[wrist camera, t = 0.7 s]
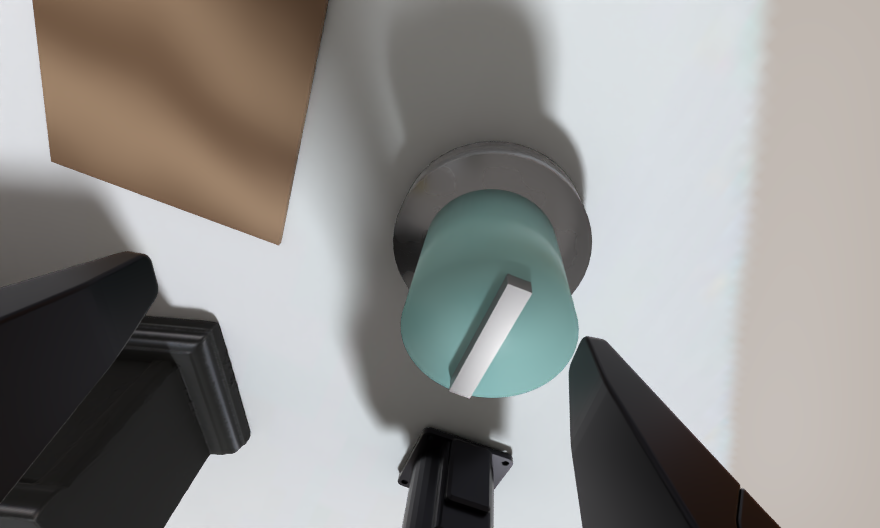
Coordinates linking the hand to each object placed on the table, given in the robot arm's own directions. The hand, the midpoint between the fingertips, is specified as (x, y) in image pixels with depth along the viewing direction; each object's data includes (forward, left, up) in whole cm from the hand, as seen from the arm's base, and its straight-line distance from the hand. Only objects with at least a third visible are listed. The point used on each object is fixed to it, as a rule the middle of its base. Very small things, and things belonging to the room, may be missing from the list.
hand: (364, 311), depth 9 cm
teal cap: (-3, -4, -11) cm, 12 cm away
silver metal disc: (-3, -4, -13) cm, 14 cm away
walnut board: (-2, +12, -13) cm, 18 cm away
